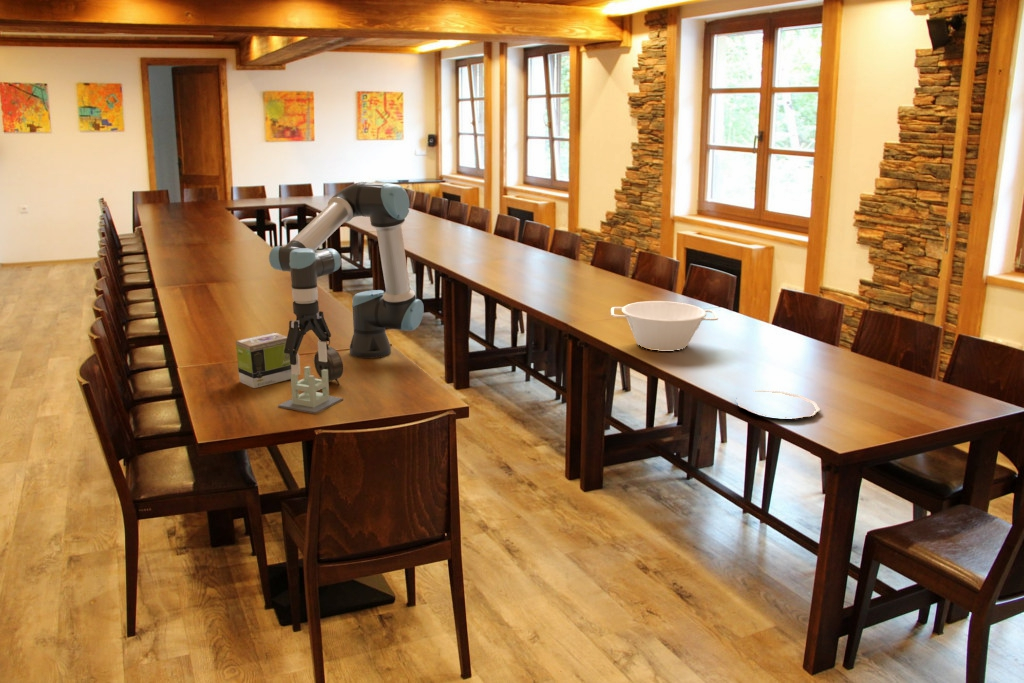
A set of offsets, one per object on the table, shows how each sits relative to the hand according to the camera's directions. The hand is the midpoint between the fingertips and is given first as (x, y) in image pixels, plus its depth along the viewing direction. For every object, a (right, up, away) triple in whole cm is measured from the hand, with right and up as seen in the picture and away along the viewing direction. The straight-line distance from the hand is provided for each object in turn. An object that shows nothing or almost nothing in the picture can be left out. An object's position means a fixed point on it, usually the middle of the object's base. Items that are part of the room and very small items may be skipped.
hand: (309, 367), depth 274 cm
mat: (0, -11, +3) cm, 12 cm away
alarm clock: (+1, -6, +22) cm, 23 cm away
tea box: (-20, -5, +24) cm, 32 cm away
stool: (0, -11, +3) cm, 11 cm away
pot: (+120, +6, +70) cm, 139 cm away
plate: (+144, -13, +3) cm, 145 cm away
